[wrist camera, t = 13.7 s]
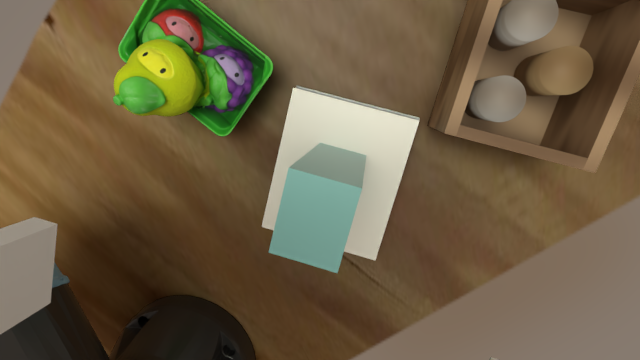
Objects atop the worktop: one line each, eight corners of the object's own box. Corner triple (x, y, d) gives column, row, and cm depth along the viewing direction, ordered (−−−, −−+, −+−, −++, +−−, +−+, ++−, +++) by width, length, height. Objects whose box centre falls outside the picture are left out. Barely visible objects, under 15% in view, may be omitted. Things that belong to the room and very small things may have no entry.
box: (541, 155, 32) (595, 173, 24) (427, 125, 33) (444, 133, 25) (600, 9, 29) (683, -24, 21) (474, -20, 30) (509, -62, 22)
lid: (375, 250, 35) (376, 349, 21) (268, 219, 36) (201, 293, 22) (416, 119, 32) (449, 133, 18) (298, 88, 33) (243, 79, 19)
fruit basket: (291, 69, 33) (252, 53, 22) (237, 145, 36) (177, 165, 25) (192, -11, 33) (103, -67, 22) (144, 70, 35) (41, 57, 24)
